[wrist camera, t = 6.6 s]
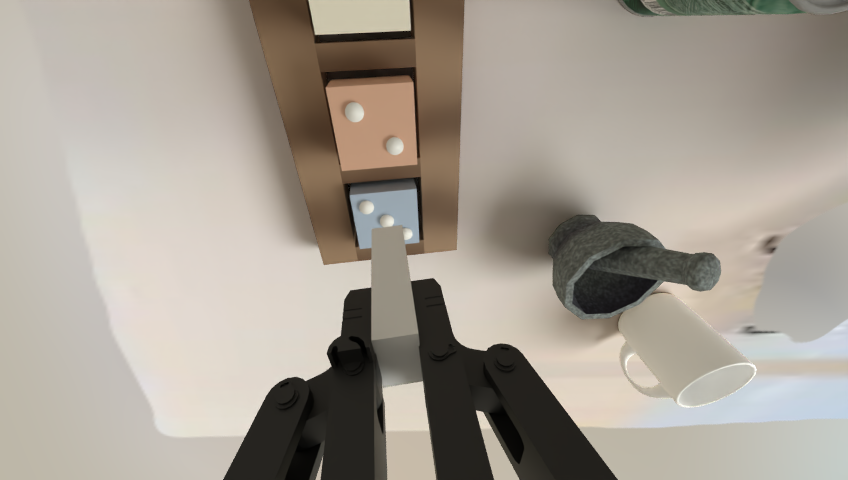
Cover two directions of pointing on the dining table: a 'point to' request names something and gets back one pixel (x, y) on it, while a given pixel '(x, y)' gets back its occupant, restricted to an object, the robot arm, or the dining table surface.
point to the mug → (681, 353)
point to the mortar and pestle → (618, 266)
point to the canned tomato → (732, 7)
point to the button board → (313, 129)
